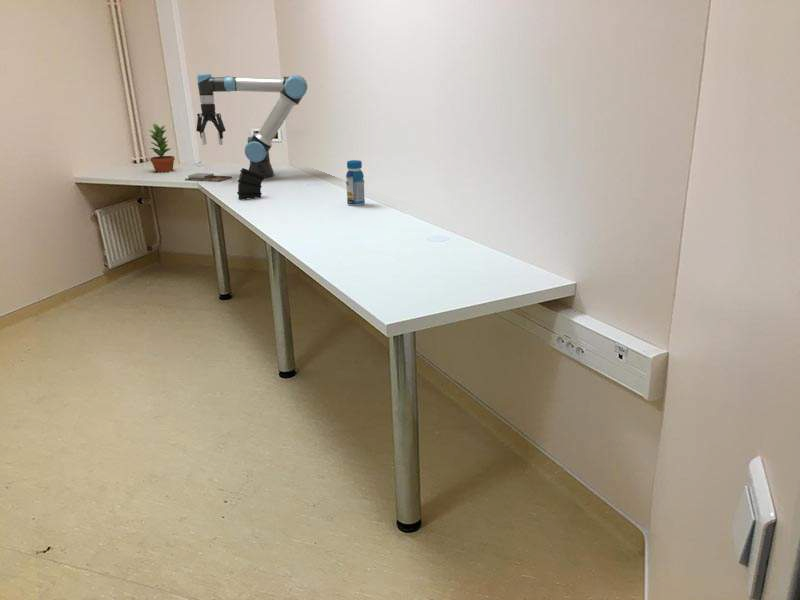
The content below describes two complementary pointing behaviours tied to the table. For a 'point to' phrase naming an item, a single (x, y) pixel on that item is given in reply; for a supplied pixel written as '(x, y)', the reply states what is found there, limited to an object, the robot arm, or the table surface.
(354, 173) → the beverage bottle
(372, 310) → the table surface
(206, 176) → the cover plate
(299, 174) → the table surface
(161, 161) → the potted plant
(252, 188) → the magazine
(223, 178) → the brown wooden tray
